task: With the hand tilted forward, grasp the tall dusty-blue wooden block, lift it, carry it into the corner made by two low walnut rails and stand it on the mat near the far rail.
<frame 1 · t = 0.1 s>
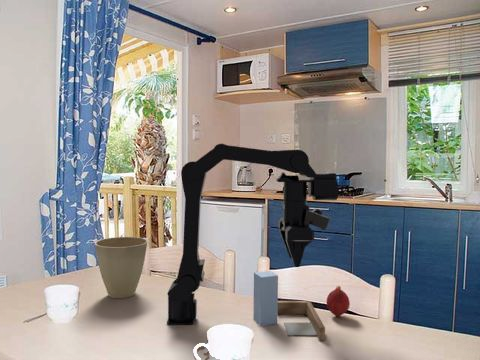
hand: (294, 262, 101), 15 cm above the table, tool pointing down, fingers open, 9 cm apart
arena: (295, 326, 98), on the table
plant pot: (121, 295, 120), on the table
onion: (337, 317, 104), on the table
block: (265, 321, 101), on the table
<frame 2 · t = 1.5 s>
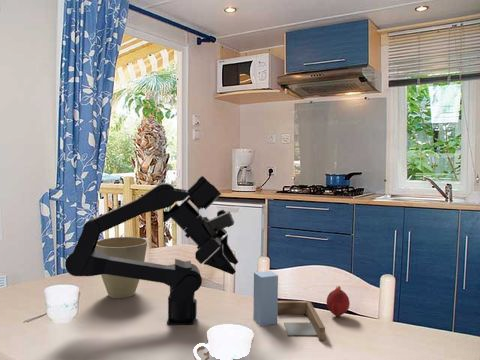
hand: (235, 268, 100), 13 cm above the table, tool tilted 45°, fingers open, 9 cm apart
nothing on the table moved.
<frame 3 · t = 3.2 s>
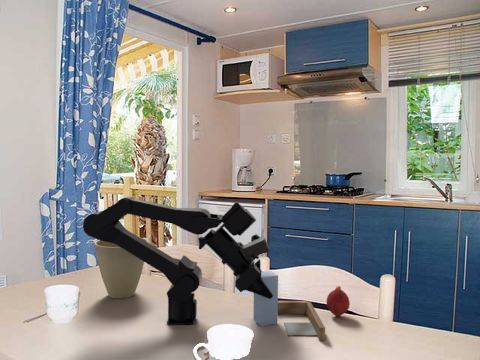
hand: (271, 293, 100), 7 cm above the table, tool tilted 45°, fingers closed on block, 6 cm apart
block: (265, 321, 101), on the table, touching gripper
everything else where it was.
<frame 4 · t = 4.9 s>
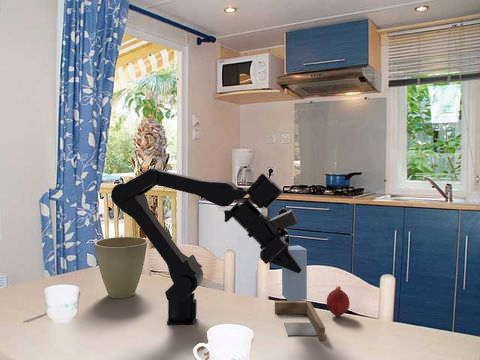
hand: (300, 268, 96), 14 cm above the table, tool tilted 45°, fingers closed on block, 6 cm apart
block: (294, 297, 97), point 7 cm above the table, touching gripper
everything else where it was.
when the fingers open (9 cm above the table, at t = 6.3 s): block drops 2 cm, resting on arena.
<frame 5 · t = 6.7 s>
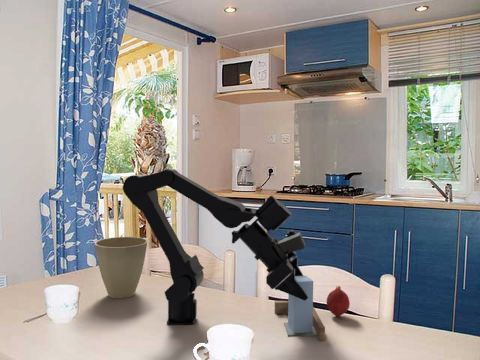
hand: (307, 292, 95), 9 cm above the table, tool tilted 45°, fingers open, 9 cm apart
block: (299, 328, 96), resting on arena
everything else where it was.
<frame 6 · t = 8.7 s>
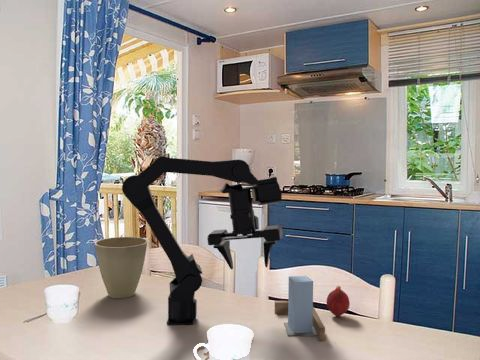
hand: (249, 267, 104), 12 cm above the table, tool pointing down, fingers open, 9 cm apart
nothing on the table moved.
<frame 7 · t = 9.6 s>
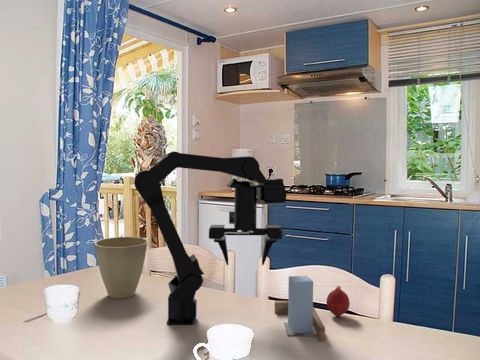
hand: (245, 264, 105), 13 cm above the table, tool pointing down, fingers open, 9 cm apart
nothing on the table moved.
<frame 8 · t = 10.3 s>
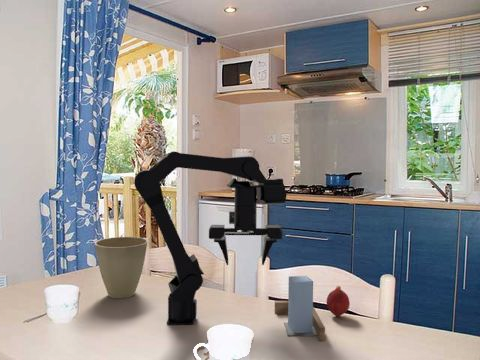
hand: (245, 264, 105), 13 cm above the table, tool pointing down, fingers open, 9 cm apart
nothing on the table moved.
at the end: block inside the target area (0.2 cm from its centre), resting on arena; block tilted 0°; the gripper is holding nothing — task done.
